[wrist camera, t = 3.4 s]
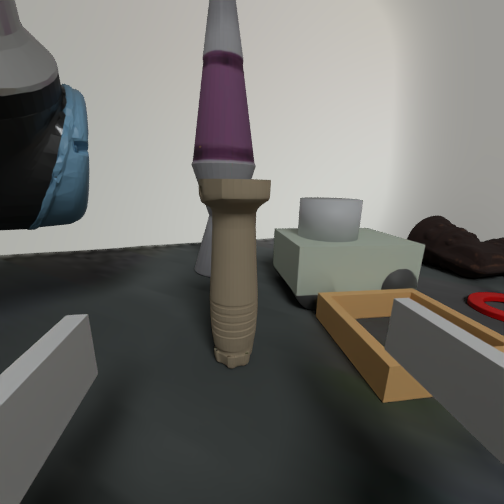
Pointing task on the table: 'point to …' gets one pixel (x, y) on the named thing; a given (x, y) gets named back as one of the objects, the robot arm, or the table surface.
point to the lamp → (221, 112)
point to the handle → (233, 264)
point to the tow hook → (478, 304)
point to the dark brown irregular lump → (458, 248)
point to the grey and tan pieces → (359, 286)
